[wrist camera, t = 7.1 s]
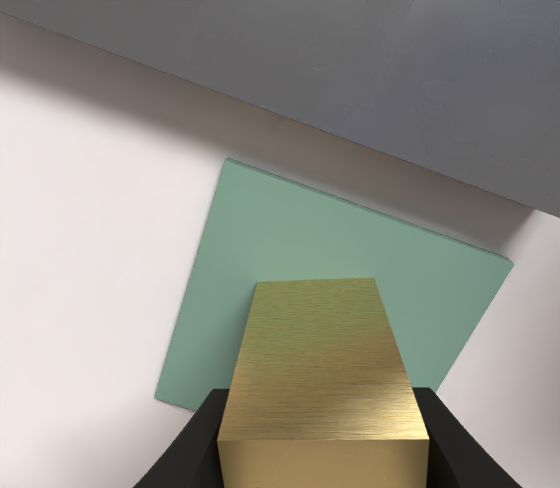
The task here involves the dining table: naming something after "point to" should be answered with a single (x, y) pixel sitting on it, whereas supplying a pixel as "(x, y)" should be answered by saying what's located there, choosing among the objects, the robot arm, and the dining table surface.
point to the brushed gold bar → (321, 393)
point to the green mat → (321, 265)
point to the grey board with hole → (363, 72)
